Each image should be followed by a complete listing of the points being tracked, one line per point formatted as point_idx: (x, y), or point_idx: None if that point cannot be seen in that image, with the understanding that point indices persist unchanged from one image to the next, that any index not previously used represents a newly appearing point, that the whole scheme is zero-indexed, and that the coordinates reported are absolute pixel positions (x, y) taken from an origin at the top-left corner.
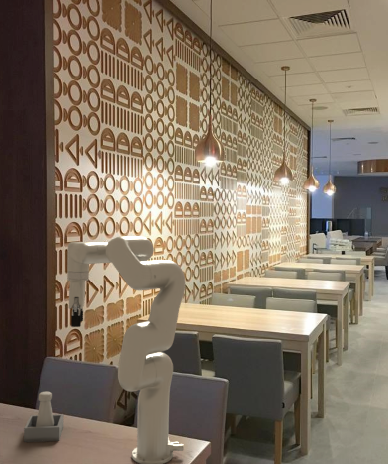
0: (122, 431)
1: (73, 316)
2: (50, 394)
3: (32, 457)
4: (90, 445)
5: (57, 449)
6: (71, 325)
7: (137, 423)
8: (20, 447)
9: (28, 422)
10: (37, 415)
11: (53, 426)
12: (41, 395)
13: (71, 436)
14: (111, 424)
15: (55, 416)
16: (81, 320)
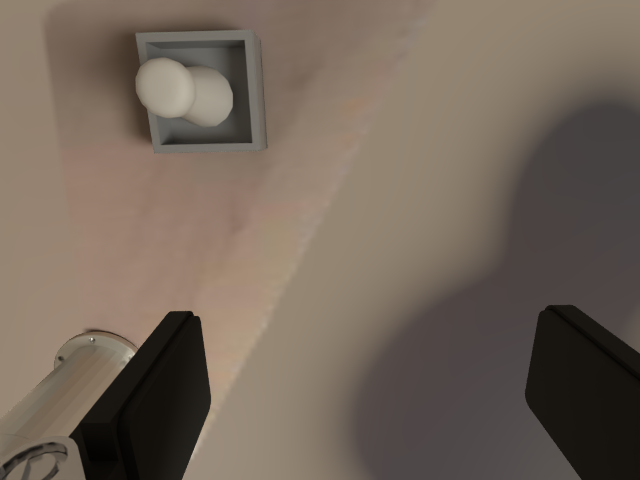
0: (237, 308)
1: (58, 450)
2: (157, 112)
3: (62, 92)
4: (149, 236)
5: (117, 153)
6: (165, 319)
7: (43, 393)
8: (119, 39)
9: (185, 37)
10: (249, 57)
11: (157, 133)
12: (138, 73)
13: (202, 180)
14: (284, 280)
15: (252, 124)
16: (529, 394)
